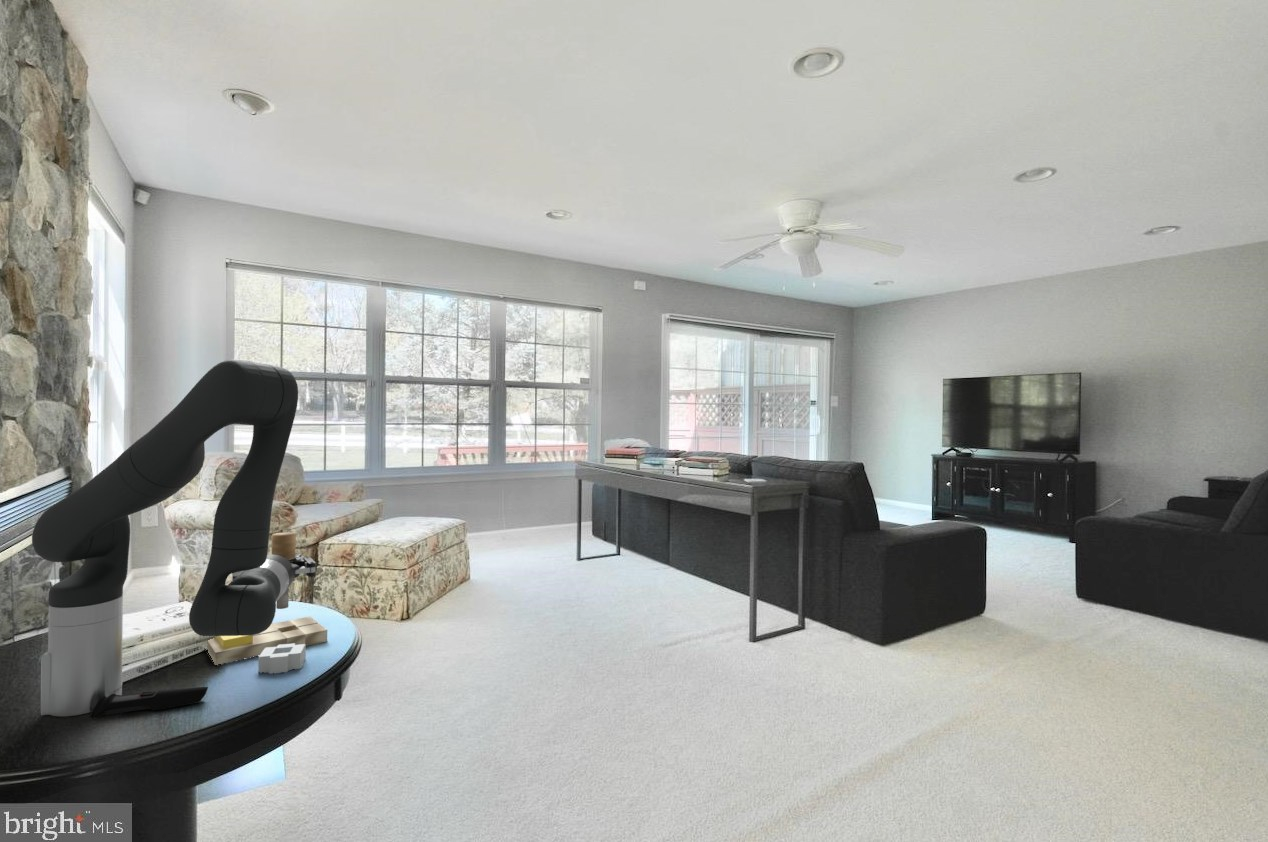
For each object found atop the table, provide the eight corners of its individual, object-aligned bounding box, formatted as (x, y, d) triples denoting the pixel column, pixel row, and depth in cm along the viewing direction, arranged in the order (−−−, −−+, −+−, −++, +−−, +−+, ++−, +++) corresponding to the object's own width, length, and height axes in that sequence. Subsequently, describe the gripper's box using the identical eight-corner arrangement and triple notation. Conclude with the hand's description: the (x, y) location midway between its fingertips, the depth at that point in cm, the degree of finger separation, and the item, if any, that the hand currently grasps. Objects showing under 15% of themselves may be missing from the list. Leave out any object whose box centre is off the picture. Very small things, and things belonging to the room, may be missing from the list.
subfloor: (215, 665, 120) (215, 652, 120) (204, 648, 129) (204, 636, 129) (327, 641, 133) (327, 629, 133) (310, 627, 142) (310, 616, 142)
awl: (268, 611, 118) (269, 536, 118) (273, 605, 121) (274, 532, 121) (291, 609, 119) (293, 535, 119) (296, 603, 123) (297, 532, 123)
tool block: (256, 675, 116) (257, 658, 116) (266, 661, 122) (266, 645, 122) (299, 670, 118) (299, 654, 118) (306, 657, 124) (306, 642, 124)
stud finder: (223, 648, 122) (223, 639, 122) (214, 636, 129) (214, 628, 129) (252, 642, 125) (252, 634, 125) (242, 631, 132) (242, 623, 132)
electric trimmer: (202, 710, 103) (203, 690, 103) (88, 721, 98) (88, 700, 98) (210, 700, 106) (211, 681, 106) (100, 710, 102) (100, 691, 102)
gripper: (310, 557, 109) (327, 539, 125) (215, 561, 104) (245, 541, 121) (310, 600, 109) (326, 576, 125) (214, 606, 104) (244, 580, 121)
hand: (286, 559), depth 123 cm, fingers closed on awl, 4 cm apart
